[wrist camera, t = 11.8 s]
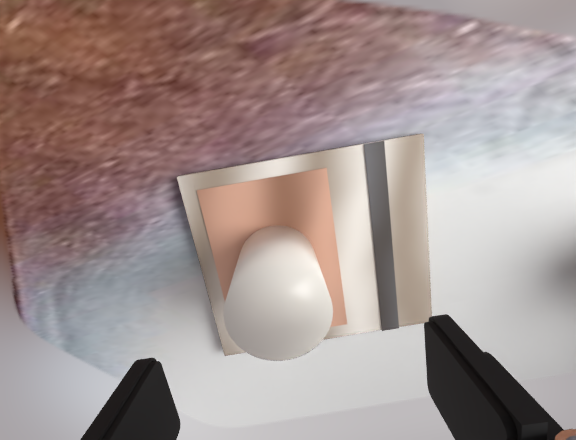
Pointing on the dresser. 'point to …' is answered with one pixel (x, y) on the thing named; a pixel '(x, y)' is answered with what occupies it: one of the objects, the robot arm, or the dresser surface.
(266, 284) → the white rounded cylinder
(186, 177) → the board
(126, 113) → the dresser surface
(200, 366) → the dresser surface
